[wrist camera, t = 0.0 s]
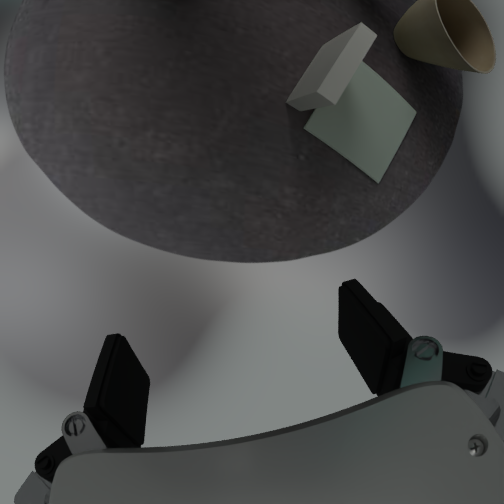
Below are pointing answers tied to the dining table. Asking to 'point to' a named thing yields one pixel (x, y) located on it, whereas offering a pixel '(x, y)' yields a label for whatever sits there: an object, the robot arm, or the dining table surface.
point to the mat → (364, 122)
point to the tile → (332, 69)
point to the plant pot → (447, 35)
